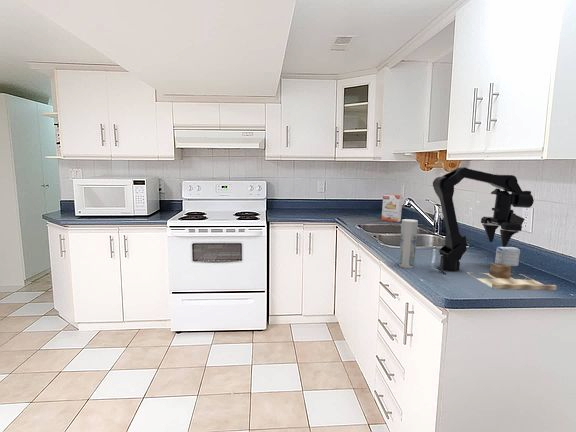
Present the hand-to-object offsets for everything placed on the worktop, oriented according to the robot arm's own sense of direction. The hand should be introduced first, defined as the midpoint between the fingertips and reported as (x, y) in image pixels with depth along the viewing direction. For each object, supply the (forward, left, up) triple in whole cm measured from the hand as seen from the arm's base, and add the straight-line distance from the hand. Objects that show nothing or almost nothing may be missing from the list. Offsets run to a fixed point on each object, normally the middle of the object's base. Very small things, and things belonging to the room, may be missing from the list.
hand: (497, 244), depth 149 cm
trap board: (-3, -14, -12) cm, 19 cm away
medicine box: (+11, +10, -12) cm, 19 cm away
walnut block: (-3, -9, -11) cm, 14 cm away
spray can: (-34, +7, -12) cm, 37 cm away
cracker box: (-1, +142, -12) cm, 143 cm away
